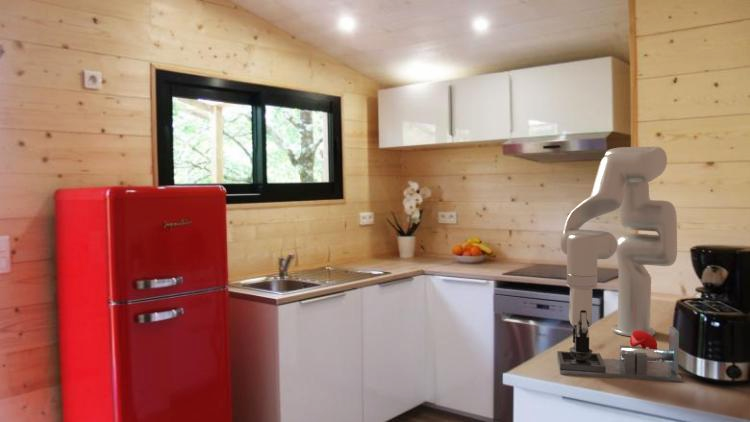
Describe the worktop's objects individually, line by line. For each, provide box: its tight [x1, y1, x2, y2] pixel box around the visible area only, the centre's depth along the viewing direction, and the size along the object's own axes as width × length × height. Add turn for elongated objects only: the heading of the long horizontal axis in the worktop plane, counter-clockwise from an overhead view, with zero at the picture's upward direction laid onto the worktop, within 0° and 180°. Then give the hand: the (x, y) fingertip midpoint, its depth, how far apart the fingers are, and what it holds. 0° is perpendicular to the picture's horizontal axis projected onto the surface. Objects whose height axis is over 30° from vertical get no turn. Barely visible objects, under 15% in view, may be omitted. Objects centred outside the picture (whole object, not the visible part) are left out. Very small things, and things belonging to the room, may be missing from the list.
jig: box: [556, 345, 683, 383], centre depth 156 cm, size 12×28×6 cm, turn 77°
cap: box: [629, 330, 659, 350], centre depth 171 cm, size 8×6×6 cm
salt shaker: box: [568, 323, 594, 364], centre depth 158 cm, size 6×6×12 cm
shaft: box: [619, 326, 680, 372], centre depth 154 cm, size 5×13×10 cm, turn 77°
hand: (580, 347), depth 158 cm, fingers open, 7 cm apart
